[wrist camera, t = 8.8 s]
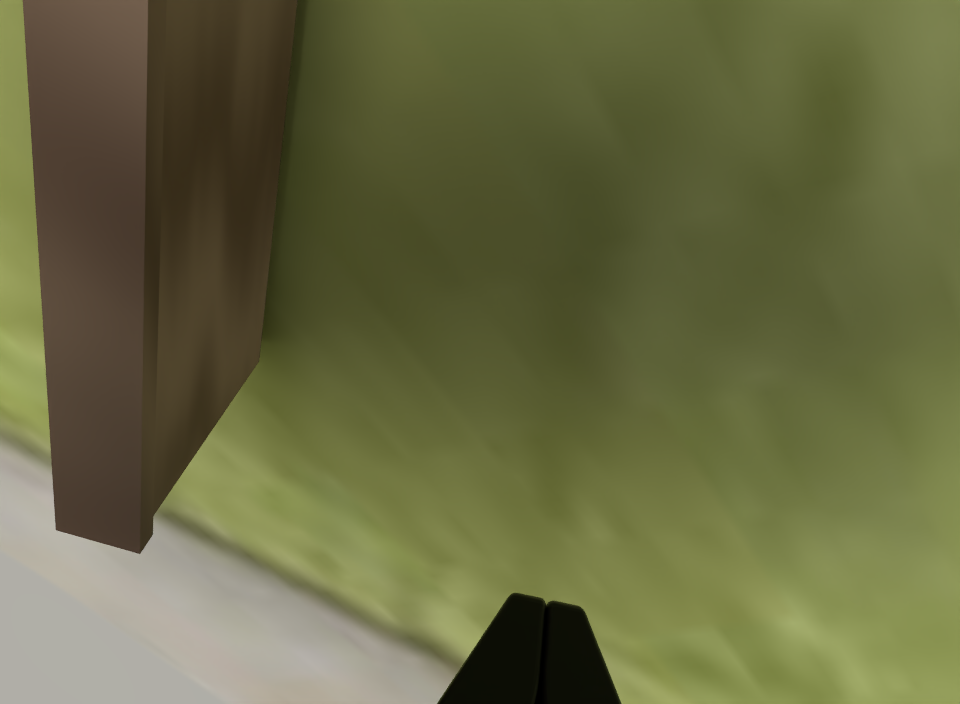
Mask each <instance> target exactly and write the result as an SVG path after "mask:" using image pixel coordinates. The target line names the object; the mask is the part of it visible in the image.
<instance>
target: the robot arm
mask: <svg viewBox="0 0 960 704" xmlns="http://www.w3.org/2000/svg"><path fill="white" fill-rule="evenodd" d="M437 704H621V701H620V699H619V696H618V694H617V691H616V689H615V686H614V684H613V681H612V679H611V676H610V674H609V671H608V668H607V666H606V663H605V661H604V658H603V656H602V653H601V651H600V648H599V646H598V643H597V641H596V638H595V636H594V633H593V631H592V628H591V626H590V623H589V621H588V618H587V616H586V613H585V611H584V610H583V609H582V608H581V607H579V606H576V605H572V604H567V603H562V602H558V601H550V602H548V603H547V605H546V603H545V601H544V600H543V599H542V598H539V597H534V596H529V595H525V594H520V593H513V594H511V595H510V596H509V597H508V598H507V600H506V601H505V603H504V604H503V606H502V607H501V609H500V610H499V612H498V613H497V615H496V616H495V618H494V619H493V621H492V622H491V624H490V625H489V627H488V628H487V630H486V631H485V633H484V634H483V636H482V637H481V639H480V640H479V642H478V643H477V645H476V646H475V648H474V649H473V651H472V652H471V654H470V655H469V657H468V658H467V660H466V661H465V662H464V664H463V665H462V667H461V668H460V670H459V671H458V673H457V674H456V676H455V677H454V679H453V680H452V682H451V683H450V685H449V686H448V688H447V689H446V691H445V692H444V694H443V695H442V697H441V698H440V700H439V701H438V703H437Z"/></svg>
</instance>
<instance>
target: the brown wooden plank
mask: <svg viewBox="0 0 960 704" xmlns="http://www.w3.org/2000/svg"><path fill="white" fill-rule="evenodd" d="M297 2H298V0H23V10H24V26H25V43H26V59H27V75H28V91H29V107H30V123H31V139H32V155H33V171H34V187H35V203H36V219H37V235H38V251H39V267H40V283H41V299H42V315H43V331H44V347H45V363H46V379H47V395H48V411H49V427H50V443H51V459H52V475H53V491H54V507H55V523H56V530H57V531H61V532H65V533H68V534H72V535H75V536H79V537H82V538H86V539H89V540H93V541H96V542H100V543H103V544H107V545H110V546H114V547H117V548H121V549H125V550H128V551H132V552H135V553H139V554H140V553H141V552H142V550H143V549H144V547H145V546H146V544H147V543H148V541H149V540H150V538H151V537H152V535H153V516H154V514H155V513H156V511H157V510H158V508H159V507H160V505H161V504H162V503H163V501H164V500H165V498H166V497H167V495H168V494H169V492H170V491H171V489H172V488H173V486H174V485H175V483H176V482H177V481H178V479H179V478H180V476H181V475H182V473H183V472H184V470H185V469H186V467H187V466H188V464H189V463H190V461H191V460H192V459H193V457H194V456H195V454H196V453H197V451H198V450H199V448H200V447H201V445H202V444H203V442H204V441H205V440H206V438H207V437H208V435H209V434H210V432H211V431H212V429H213V428H214V426H215V425H216V423H217V422H218V420H219V419H220V418H221V416H222V415H223V413H224V412H225V410H226V409H227V407H228V406H229V404H230V403H231V401H232V400H233V399H234V397H235V396H236V394H237V393H238V391H239V390H240V388H241V387H242V385H243V384H244V382H245V381H246V379H247V378H248V377H249V375H250V374H251V372H252V371H253V369H254V368H255V366H256V365H257V363H258V362H259V358H260V348H261V339H262V330H263V320H264V311H265V302H266V292H267V283H268V274H269V264H270V255H271V245H272V236H273V227H274V217H275V208H276V199H277V189H278V180H279V171H280V161H281V152H282V142H283V133H284V124H285V114H286V105H287V96H288V86H289V77H290V68H291V58H292V49H293V39H294V30H295V21H296V11H297Z"/></svg>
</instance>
